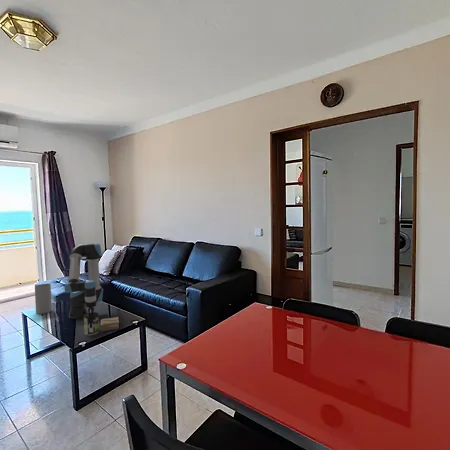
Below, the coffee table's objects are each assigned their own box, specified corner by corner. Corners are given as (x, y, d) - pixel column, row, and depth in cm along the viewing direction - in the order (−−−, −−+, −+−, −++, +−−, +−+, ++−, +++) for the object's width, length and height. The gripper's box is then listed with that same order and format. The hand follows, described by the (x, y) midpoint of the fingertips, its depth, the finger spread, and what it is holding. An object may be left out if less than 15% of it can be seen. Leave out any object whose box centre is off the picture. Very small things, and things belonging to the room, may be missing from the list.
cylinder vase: (46, 314, 262) (45, 287, 261) (32, 314, 263) (31, 287, 261) (54, 309, 275) (53, 283, 274) (41, 309, 275) (40, 283, 274)
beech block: (101, 325, 235) (101, 319, 235) (118, 322, 240) (118, 316, 240) (101, 331, 223) (100, 324, 223) (118, 328, 228) (118, 322, 228)
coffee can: (102, 330, 225) (101, 312, 225) (93, 336, 215) (92, 317, 215) (90, 329, 227) (89, 311, 227) (81, 334, 217) (80, 316, 217)
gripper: (86, 297, 230) (87, 323, 231) (84, 306, 207) (85, 335, 208) (96, 296, 233) (97, 321, 234) (95, 305, 210) (96, 333, 211)
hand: (91, 328), depth 221 cm, fingers open, 13 cm apart
